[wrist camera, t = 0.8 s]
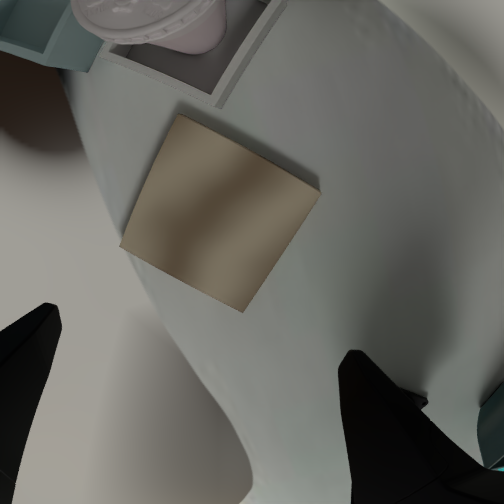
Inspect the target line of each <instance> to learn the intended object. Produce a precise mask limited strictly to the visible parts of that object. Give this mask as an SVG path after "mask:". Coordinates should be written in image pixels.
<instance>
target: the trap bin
mask: <svg viewBox="0 0 504 504" xmlns="http://www.w3.org/2000/svg"><path fill="white" fill-rule="evenodd" d="M103 41H104V40H103V39H101V38H100V37H98V36H96V35H95V34H93V33H91V32H89V31H87V30H86V29H84V28H83V27H82V26H81V25H80V24H79V22H78V21H77V20H76V18H75V16H74V14H73V11H72V8H71V1H70V0H0V50H2V51H5V52H8V53H11V54H14V55H17V56H20V57H22V58H25V59H28V60H31V61H34V62H37V63H39V64H42V65H45V66H51V67H58V68H64V69H71V70H76V71H82V72H88V71H89V69H90V67H91V65H92V63H93V61H94V59H95V57H96V55H97V53H98V51H99V49H100V47H101V45H102V43H103Z"/></svg>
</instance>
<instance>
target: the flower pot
mask: <svg viewBox="0 0 504 504" xmlns="http://www.w3.org/2000/svg"><path fill="white" fill-rule="evenodd" d="M477 438H478V444H479V448H480V452H481V456H482V460H483V465H484V467H485V468H488V469H491V470H496V469H501V468H504V382H503V383H502V384H501V386H500V387H499V388H498V389H497V390H496V392H495V393H494V394H493V395H492V396H491V397H490V399H489V400H488V401H487V402H486V403H485V404H484V405H483V406H482V407H481V409H480V411H479V416H478V423H477Z"/></svg>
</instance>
